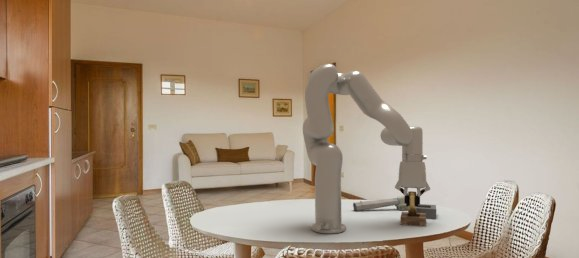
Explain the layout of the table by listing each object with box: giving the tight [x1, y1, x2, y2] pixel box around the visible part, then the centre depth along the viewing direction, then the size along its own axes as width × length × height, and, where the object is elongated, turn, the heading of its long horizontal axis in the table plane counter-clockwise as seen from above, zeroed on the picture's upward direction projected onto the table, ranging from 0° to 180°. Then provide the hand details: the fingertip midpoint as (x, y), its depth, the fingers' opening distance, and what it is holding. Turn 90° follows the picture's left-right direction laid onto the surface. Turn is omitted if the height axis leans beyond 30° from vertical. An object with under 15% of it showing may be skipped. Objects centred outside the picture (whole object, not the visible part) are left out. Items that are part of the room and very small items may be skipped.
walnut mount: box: [400, 211, 427, 227], centre depth 142 cm, size 9×9×3 cm
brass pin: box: [407, 190, 417, 216], centre depth 142 cm, size 3×3×9 cm
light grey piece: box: [352, 195, 408, 212], centre depth 166 cm, size 5×7×25 cm
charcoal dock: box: [416, 203, 437, 220], centre depth 153 cm, size 9×9×4 cm
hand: (412, 205), depth 142 cm, fingers closed on brass pin, 3 cm apart
